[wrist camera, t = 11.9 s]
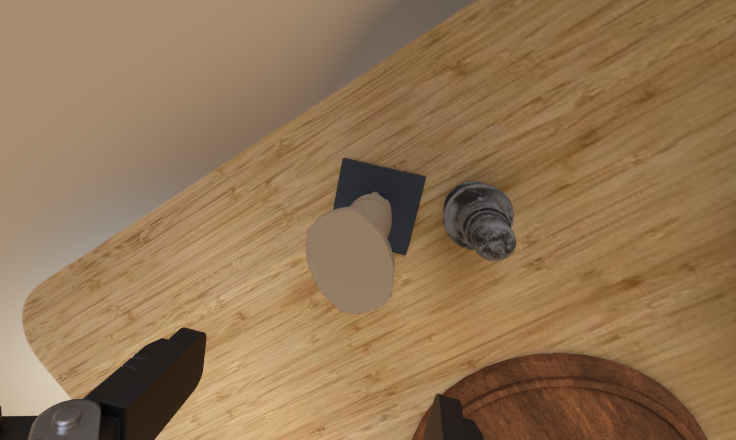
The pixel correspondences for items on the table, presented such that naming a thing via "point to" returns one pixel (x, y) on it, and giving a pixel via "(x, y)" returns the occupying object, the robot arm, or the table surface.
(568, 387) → the cutting board
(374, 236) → the handle
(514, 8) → the table surface
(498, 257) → the grey stone chess piece
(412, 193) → the place mat
